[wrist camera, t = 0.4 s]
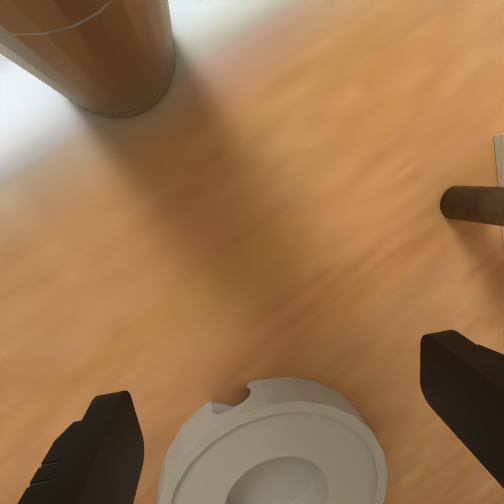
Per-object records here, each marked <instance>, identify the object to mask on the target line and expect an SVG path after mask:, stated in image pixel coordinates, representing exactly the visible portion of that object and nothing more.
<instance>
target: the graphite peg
mask: <svg viewBox="0 0 504 504" xmlns="http://www.w3.org/2000/svg"><path fill="white" fill-rule="evenodd" d="M440 209H441V212H442V214H443V215H444V216H445V217H447V218H449V219H456V220H463V221H470V222H477V223H484V224H491V225H498V226H504V187H488V186H453V187H451V188H449V189H448V190H447V191H446V192H445V193H444V194H443V196H442V198H441V202H440Z"/></svg>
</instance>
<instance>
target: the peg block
mask: <svg viewBox="0 0 504 504" xmlns="http://www.w3.org/2000/svg"><path fill="white" fill-rule="evenodd" d="M494 144H495V155H496V166H497V177H498V187H504V133H501V134H499V135H496V136H494ZM502 232H503V243H504V226H502Z"/></svg>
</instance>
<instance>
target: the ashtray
mask: <svg viewBox="0 0 504 504" xmlns="http://www.w3.org/2000/svg"><path fill="white" fill-rule="evenodd" d="M246 387H248V388H249V389H250V390H251V393H250V396H249V397H248V398H247V399H246V400H245V401H244V402H242V403H241V404H239V405H237V406H235V407H233V406H229V405H226V404H222V403H218V402H214V401H210V402H208V403H207V404H205V405H203V406H202V407H201V408H200V409H199V410H198V411H197V412H196V413H195V414H194V415H193V416H192V417H191V418H190V419H189V420H188V421H187V422H186V423H185V424H184V425H183V426H182V427H181V429H180V430H179V432H178V434H177V435H176V437H175V439H174V440H173V442H172V443H171V445H170V447H169V448H168V450H167V452H166V456H165V460H164V463H163V467H162V471H161V474H160V480H159V489H158V498H157V504H383V502H384V500H385V493H386V486H387V479H388V474H387V468H386V462H385V455H384V452H383V450H382V448H381V446H380V445H379V443H378V441H377V439H376V437H375V435H374V434H373V432H372V431H371V429H370V428H369V426H368V425H367V424H366V422H365V421H364V419H363V418H362V417H361V415H360V414H359V412H358V411H357V410H356V408H355V407H354V406H353V405H352V404H351V403H350V402H349V401H348V400H347V399H345V398H344V397H343V396H342V395H341V394H340V393H339V392H338V391H336V390H334V389H331V388H329V387H327V386H325V385H323V384H321V383H318V382H316V381H312V380H305V379H299V378H292V377H282V378H271V379H260V380H257V381H254V382H251V383H248V385H247V386H246ZM212 402H213V404H212Z"/></svg>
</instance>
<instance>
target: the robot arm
mask: <svg viewBox="0 0 504 504" xmlns="http://www.w3.org/2000/svg"><path fill="white" fill-rule="evenodd" d="M0 54H2V55H3V56H5V57H6V58H8V59H9V60H11V61H12V62H14V63H15V64H17V65H18V66H20V67H21V68H23V69H24V70H26V71H27V72H29V73H30V74H32V75H33V76H35V77H36V78H38V79H39V80H41V81H43V82H44V83H46V84H47V85H49V86H50V87H52V88H53V89H54V90H56V91H57V92H59V93H60V94H62V95H63V96H65V97H66V98H68V99H70V100H71V101H73V102H74V103H76V104H77V105H79V106H80V107H82V108H84V109H86V110H88V111H90V112H92V113H94V114H98V115H101V116H105V117H113V118H125V117H130V116H135V115H138V114H140V113H143V112H145V111H147V110H148V109H150V108H151V107H152V106H154V105H155V104H157V102H158V101H159V100H160V99H161V98H162V97H163V95H164V94H165V93H166V91H167V89H168V87H169V85H170V83H171V80H172V76H173V72H174V66H175V51H174V43H173V35H172V27H171V19H170V12H169V5H168V0H0ZM420 385H421V389H422V392H423V395H424V397H425V399H426V401H427V403H428V404H429V405H430V407H431V408H432V409H433V410H434V411H435V412H436V413H437V415H438V416H439V417H440V418H441V419H442V420H443V421H444V422H445V423H446V425H447V426H448V427H449V428H450V429H451V430H452V431H453V432H454V433H455V435H456V436H457V437H458V438H459V439H460V440H461V441H462V442H463V444H464V445H465V446H466V447H467V448H468V449H469V450H470V451H471V452H472V454H473V455H474V456H475V457H476V458H477V459H478V460H479V461H480V462H481V464H482V465H483V466H484V467H485V468H486V469H487V470H488V471H489V473H490V474H491V475H492V476H493V477H494V478H495V479H496V480H497V481H498V483H499V484H500V485H501V486H502V487H503V488H504V355H503V354H501V353H499V352H496V351H494V350H491V349H489V348H486V347H484V346H481V345H479V344H478V345H476V344H475V343H473V342H472V341H470V340H469V339H467V338H466V337H464V336H463V335H461V334H460V333H458V332H457V331H455V330H447V331H442V332H436V333H431V334H426V335H423V337H422V338H421V348H420ZM143 460H144V441H143V436H142V432H141V429H140V425H139V422H138V418H137V415H136V412H135V408H134V405H133V401H132V398H131V395H130V393H129V392H128V391H120V392H115V393H110V394H104V395H99V396H96V397H95V398H94V399H93V400H92V402H91V404H90V406H89V408H88V409H87V411H86V413H85V415H84V417H83V419H82V421H77V422H73V423H72V424H71V425H70V426H69V427H68V428H67V429H66V430H65V431H64V432H63V433H62V434H61V435H60V436H59V437H58V438H57V439H56V440H55V441H54V443H53V445H52V446H51V448H50V450H49V451H48V453H47V455H46V456H45V458H44V460H43V462H42V463H41V464H42V466H41V468H38V470H37V472H36V473H35V475H34V477H33V479H32V480H31V482H30V487H29V488H27V489H26V490H25V492H24V494H23V495H22V497H21V499H20V501H19V502H18V504H133V503H134V499H135V495H136V490H137V486H138V482H139V478H140V474H141V470H142V466H143Z"/></svg>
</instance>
